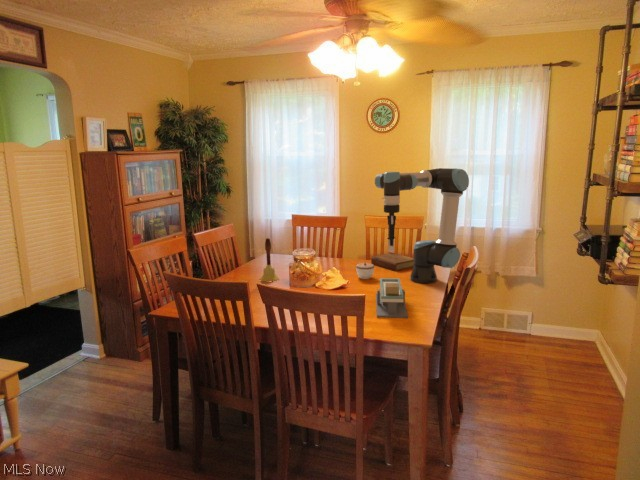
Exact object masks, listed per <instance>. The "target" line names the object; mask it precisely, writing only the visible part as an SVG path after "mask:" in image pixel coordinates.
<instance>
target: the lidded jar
mask: <svg viewBox="0 0 640 480" xmlns="http://www.w3.org/2000/svg"><path fill="white" fill-rule="evenodd" d="M355 268H356V269H355V270H356V273H357V276H358V277H359V278H360V280H361V279H362V280H369V279H371V278H372V277H373V275H374V272H375V265H373V264H371V262H370V263H369V262H360V263H357V264H356V266H355Z"/></svg>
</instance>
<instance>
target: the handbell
mask: <svg viewBox="0 0 640 480" xmlns="http://www.w3.org/2000/svg"><path fill="white" fill-rule="evenodd" d="M264 245H265V246H264V248H265V254H266V266H265V267H264V268H263V274H262V276H261V277H259V279H258V281H259V280H261V281H276V282H278V281H280V280H279V278H280V277H279V276H277V274H276V271H275V268H274V267H273V266H272V265H271V264H272V263H271V250H272V244H271V239H270V238H268V237H267V238H265V243H264ZM277 280H278V281H277ZM261 281H260V282H261Z"/></svg>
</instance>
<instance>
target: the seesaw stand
mask: <svg viewBox="0 0 640 480" xmlns="http://www.w3.org/2000/svg"><path fill="white" fill-rule="evenodd" d="M376 291H377V292H376V293H375V302H376V303H375V307H376V318H380V317H384V318H385V319H387V318H388V319H390V318H391V319H401V318H402V319H408V318H409V315H408V310H407V306H406V291H405V289H402V292H403V296H404V299H403V302H381V290H380V289H379V288H378V289H376ZM386 317H387V318H386Z"/></svg>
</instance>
